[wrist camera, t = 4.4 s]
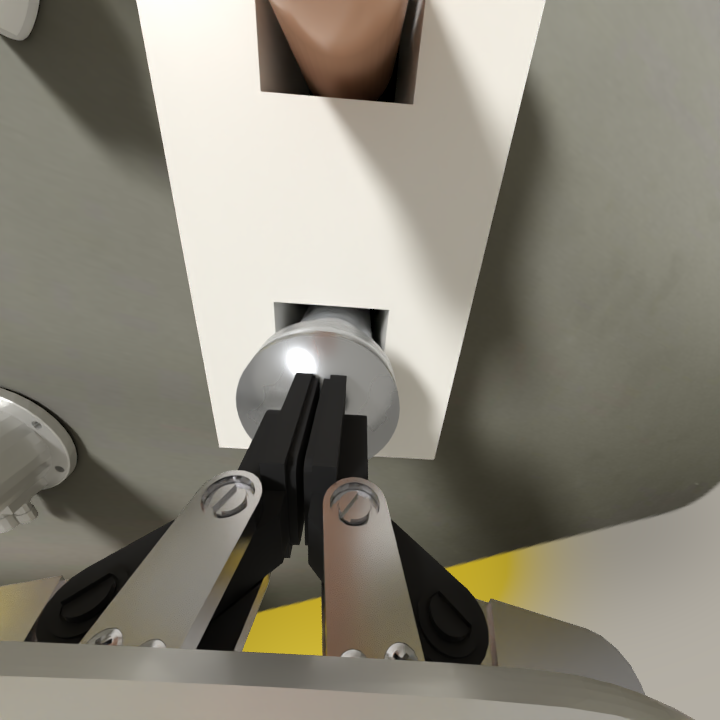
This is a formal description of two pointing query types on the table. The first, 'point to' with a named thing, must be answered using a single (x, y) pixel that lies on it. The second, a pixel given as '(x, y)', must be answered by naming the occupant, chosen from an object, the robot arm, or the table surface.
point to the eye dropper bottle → (17, 18)
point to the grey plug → (324, 370)
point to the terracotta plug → (343, 43)
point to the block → (337, 186)
